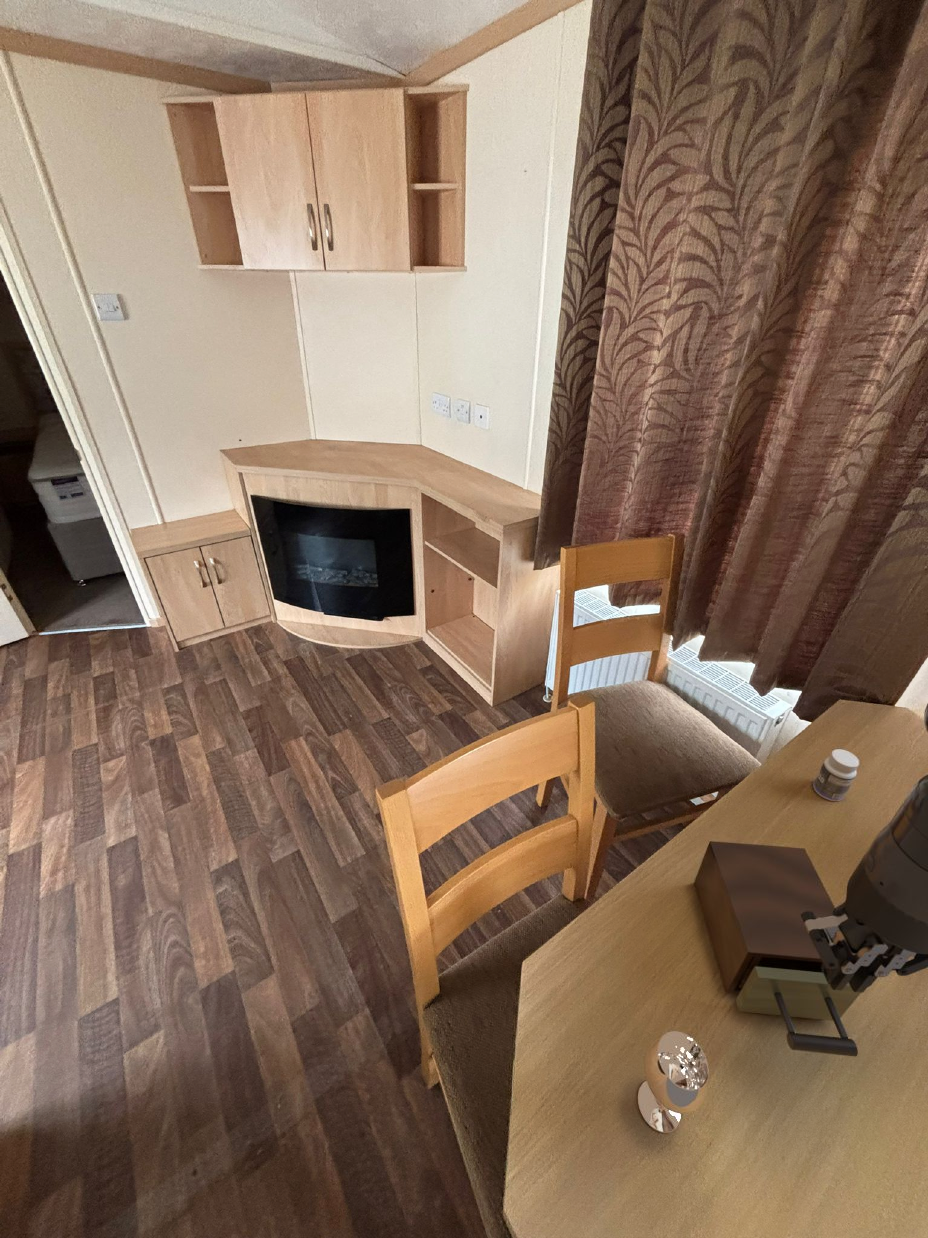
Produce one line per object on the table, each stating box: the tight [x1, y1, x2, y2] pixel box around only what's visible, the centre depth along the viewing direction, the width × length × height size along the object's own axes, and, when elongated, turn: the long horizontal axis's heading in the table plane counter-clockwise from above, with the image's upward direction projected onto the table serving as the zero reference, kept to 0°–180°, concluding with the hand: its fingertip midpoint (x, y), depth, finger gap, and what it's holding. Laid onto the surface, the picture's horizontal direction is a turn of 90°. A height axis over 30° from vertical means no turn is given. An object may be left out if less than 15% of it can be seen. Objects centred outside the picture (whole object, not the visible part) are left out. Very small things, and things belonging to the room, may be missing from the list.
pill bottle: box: [812, 748, 860, 802], centre depth 90 cm, size 5×5×8 cm
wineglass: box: [637, 1030, 710, 1134], centre depth 54 cm, size 6×6×12 cm
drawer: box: [735, 956, 861, 1058], centre depth 64 cm, size 19×11×8 cm, turn 175°
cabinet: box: [693, 840, 837, 996], centre depth 69 cm, size 15×13×10 cm
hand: (842, 981), depth 54 cm, fingers closed
